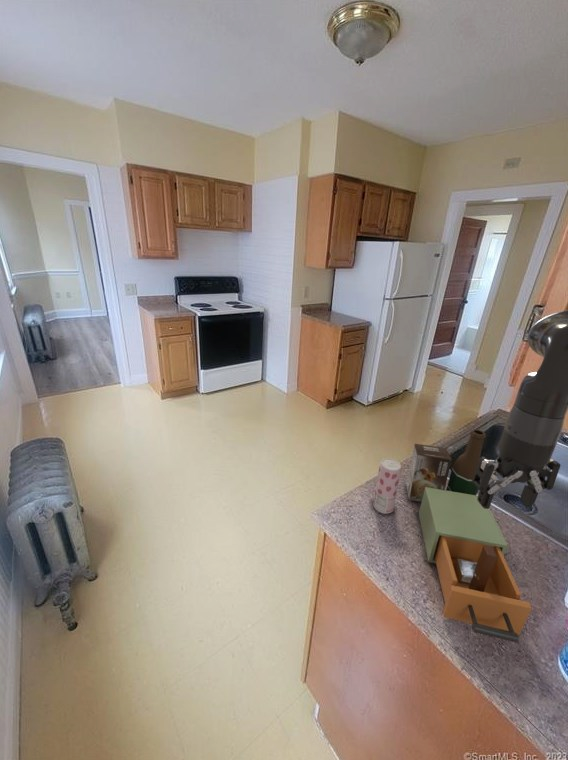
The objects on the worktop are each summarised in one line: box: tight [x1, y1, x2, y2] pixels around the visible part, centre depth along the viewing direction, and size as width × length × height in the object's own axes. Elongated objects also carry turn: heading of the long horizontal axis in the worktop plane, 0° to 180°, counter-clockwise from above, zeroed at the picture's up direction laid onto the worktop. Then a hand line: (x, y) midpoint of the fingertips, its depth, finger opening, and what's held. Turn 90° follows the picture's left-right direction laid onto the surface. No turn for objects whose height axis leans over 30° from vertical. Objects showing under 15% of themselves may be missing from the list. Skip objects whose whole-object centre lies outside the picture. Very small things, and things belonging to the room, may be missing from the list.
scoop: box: [455, 545, 497, 592], centre depth 67 cm, size 5×8×13 cm, turn 167°
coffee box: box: [406, 443, 453, 503], centre depth 94 cm, size 9×6×16 cm
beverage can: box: [372, 457, 402, 515], centre depth 90 cm, size 6×6×15 cm
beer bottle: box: [445, 429, 487, 496], centre depth 91 cm, size 8×8×24 cm
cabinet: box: [418, 487, 509, 565], centre depth 80 cm, size 16×15×10 cm
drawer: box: [434, 535, 533, 643], centre depth 66 cm, size 19×13×8 cm
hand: (504, 504), depth 62 cm, fingers open, 8 cm apart
